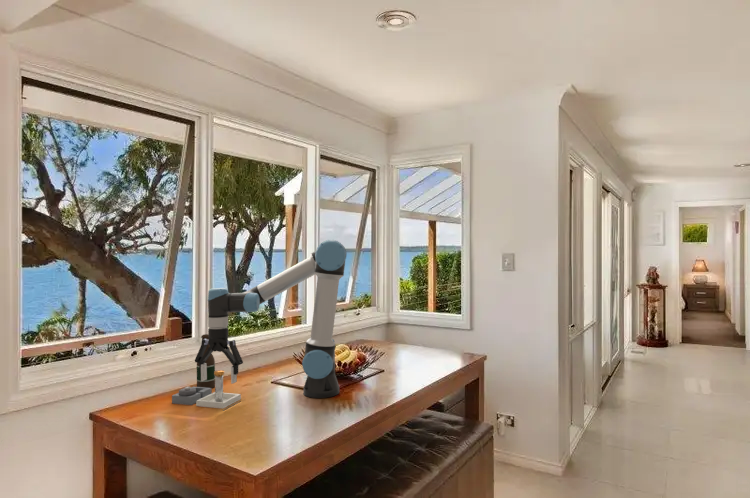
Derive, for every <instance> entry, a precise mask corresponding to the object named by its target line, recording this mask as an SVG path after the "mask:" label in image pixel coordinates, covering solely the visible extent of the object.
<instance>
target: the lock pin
mask: <svg viewBox="0 0 750 498" xmlns="http://www.w3.org/2000/svg"><path fill="white" fill-rule="evenodd" d="M214 375H215V387H214V392H215V402H223V393H224V375H225V370H224V369H219V370H215V371H214Z"/></svg>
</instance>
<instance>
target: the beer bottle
mask: <svg viewBox="0 0 750 498" xmlns="http://www.w3.org/2000/svg"><path fill="white" fill-rule="evenodd" d="M200 338H201V341H202V340H203V339H208V340H209V337H208V333H207V334H206V333H205V334H202V335H201V336H200ZM209 347H210V345H209V344H208V345H207V347H206V350H205V352H204V354H205V353H206V352H207V350H208V348H209ZM204 354H203V356H204ZM215 361H216V360H215V357H214V355H213V353H211V355H210V356H209V357H208V359H207V360H206V361H205V363H207V380H204V381H201V372H200V371H199V363H197V362H196V387H205V388H212V389H215V375H214V371H216V362H215Z"/></svg>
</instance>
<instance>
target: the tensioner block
mask: <svg viewBox="0 0 750 498" xmlns="http://www.w3.org/2000/svg"><path fill="white" fill-rule="evenodd" d="M211 393H213V388H205V387H197V386H192V387H191V386H184V387H183V388H181V389H179V390H178V392H177V393H175V394H172V395H171V403H172V404H174V405H175V404H176V405H186V406H193V405H196V401H197V400H199V399H201V398H203V397H205V396H207V395H209V394H211Z"/></svg>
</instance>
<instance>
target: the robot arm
mask: <svg viewBox="0 0 750 498" xmlns="http://www.w3.org/2000/svg"><path fill="white" fill-rule="evenodd" d="M346 259H347V249H346V248H345V246H344V245H343V244H342V243H341V242H340V241H338V240H334V239H327V240H325V241H323V242H320V243H319V245H318V246H317V247H316V250H315V251H313V252H311V253H310V255H309V257H307V258H305V259H304V260H301V261H300V262H297V263H296V264H294V265H293V266H291V267H289V268H287V269H285V270H283V271H281V272H280V273H278V274H275V275H274V276H273V277H271V278H269V279H267V280H265V281H263V282H261V283H260V284H257V285H256V286H253V287H252V288H250V289H248V290H247V291H244V292H234V293H232V292H229V289H228V288H227V287H213V288H210V289H209V290H208V294H207V295H208V296H207V312H208V314H207V317H208V318H207V327H208V330H207V331H208V333H207V334H208V337H209V340H208V339H203V340H202V339H201V343H200V344H201V345H200V347H199V349H198V352H197V354H196V356H195V359H194V362H195V363H196V364H197V363H199V371H200V372H201V381H204V380H207V363H205V361H206V360H207V359H208V357H209V356H210V355H211V354H213V352H220V353H223V354H224V355H225V356H226V358H227V360H228V361H229V362H230V364H231V365H232V366H230V384H235V383H237V379H238V377H237V376H238V374H239V366H240V365H242V364H244V361H243V358H242V356H241V354H240V352H239V349H238V347H237V345H236V340H235V339H231V340H229V338H228V337H229V327H228V326H229V313H253V312H254V313H255V312H258V311H259V309H260V305H262V304H264V303H266V302H267V301H268V300H272V298H274V297H276V296H278V295H279V294H282V293H284V292H285V291H287V290H289V289H291V288H292V287H294V286H296V285H298V284H300V283H303V282H304V281H305V280H308V279H309V278H312V276H316V277H317V280H316V287H315V297H314V305H313V312H312V321H311V328H310V329H311V331H310V337H309V338H308V339H307V340H306V341H305V349H304V356H303V357H302V361H301V366H302V369H303V371H304V373H305V374H306V378H305V382H304V385H303V393H302V394H303V396H305V397H308V398H313V399H325V398H332V397H336V396H337V395H339V393H340V385H339V382H338V378H337V376H336V342H335V339H334V338H333V336H334V335H333V334H334V326H335V318H336V310H337V309H336V308H337V301H338V293H339V285H340V279H342V278H343V277H344V275H345V267H346V266H345V265H346ZM208 344H209V345H210V347H209V348H208V350H207V352H206V353H205V354H204V352H205V350H206V347H207V345H208ZM203 354H204V356H203Z"/></svg>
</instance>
